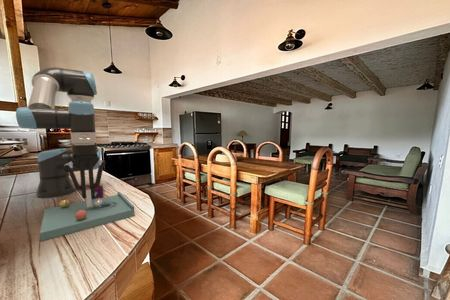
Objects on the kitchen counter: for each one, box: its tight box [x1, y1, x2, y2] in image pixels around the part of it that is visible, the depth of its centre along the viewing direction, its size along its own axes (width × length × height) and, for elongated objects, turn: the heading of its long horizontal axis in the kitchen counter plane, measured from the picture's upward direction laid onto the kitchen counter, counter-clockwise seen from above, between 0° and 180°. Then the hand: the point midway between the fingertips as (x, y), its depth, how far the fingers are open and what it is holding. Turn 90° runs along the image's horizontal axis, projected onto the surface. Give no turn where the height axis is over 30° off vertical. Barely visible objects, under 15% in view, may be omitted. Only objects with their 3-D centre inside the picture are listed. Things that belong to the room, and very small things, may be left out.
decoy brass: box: [58, 198, 71, 208], centre depth 76 cm, size 3×3×3 cm
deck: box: [39, 191, 135, 242], centre depth 74 cm, size 24×26×4 cm
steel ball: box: [93, 199, 103, 208], centre depth 76 cm, size 3×3×3 cm
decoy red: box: [75, 210, 87, 220], centre depth 65 cm, size 3×3×3 cm
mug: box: [86, 184, 105, 200], centre depth 91 cm, size 7×10×7 cm
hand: (89, 205), depth 74 cm, fingers closed
